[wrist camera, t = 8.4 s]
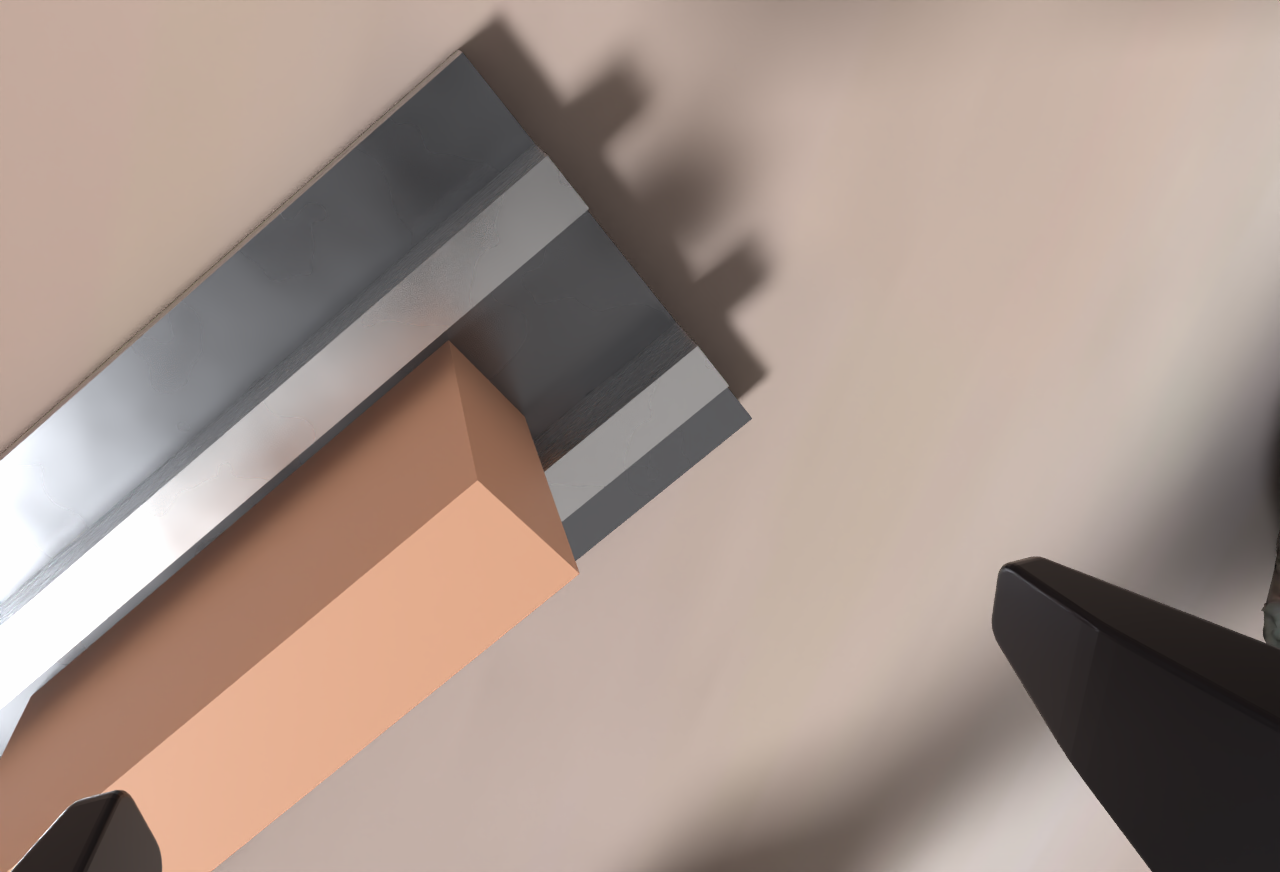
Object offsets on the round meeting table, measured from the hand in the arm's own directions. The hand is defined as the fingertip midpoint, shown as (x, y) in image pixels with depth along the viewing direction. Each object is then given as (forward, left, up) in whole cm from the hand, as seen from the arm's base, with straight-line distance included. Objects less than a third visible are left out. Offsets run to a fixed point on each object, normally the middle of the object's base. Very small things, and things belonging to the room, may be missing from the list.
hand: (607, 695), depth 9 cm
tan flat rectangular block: (-1, +7, -11) cm, 13 cm away
